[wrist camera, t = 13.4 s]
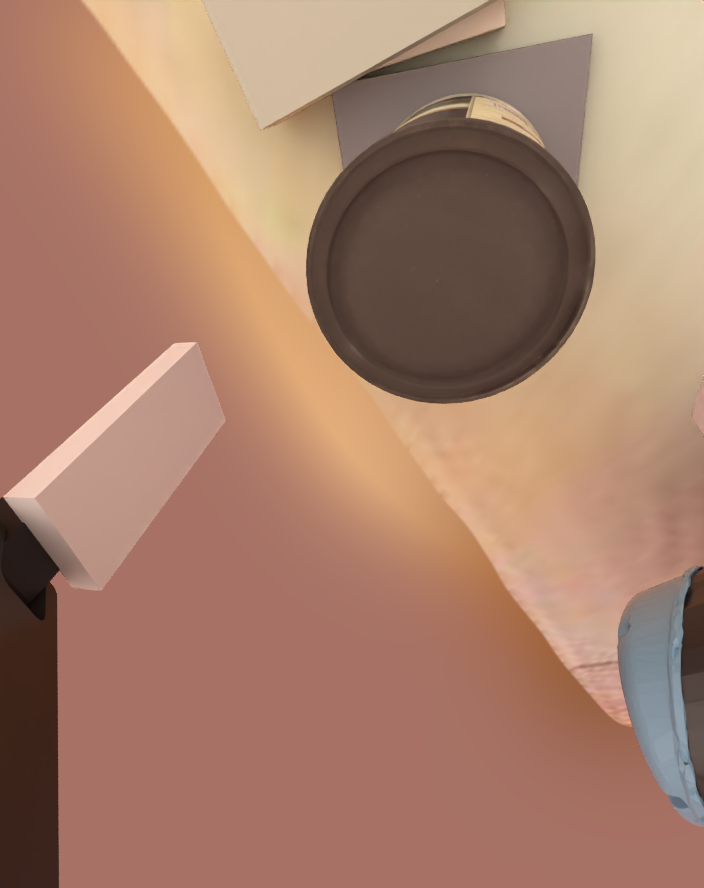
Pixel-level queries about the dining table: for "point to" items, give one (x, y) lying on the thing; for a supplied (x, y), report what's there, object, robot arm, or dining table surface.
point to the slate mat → (497, 75)
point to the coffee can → (451, 254)
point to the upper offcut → (320, 44)
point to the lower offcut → (458, 32)
